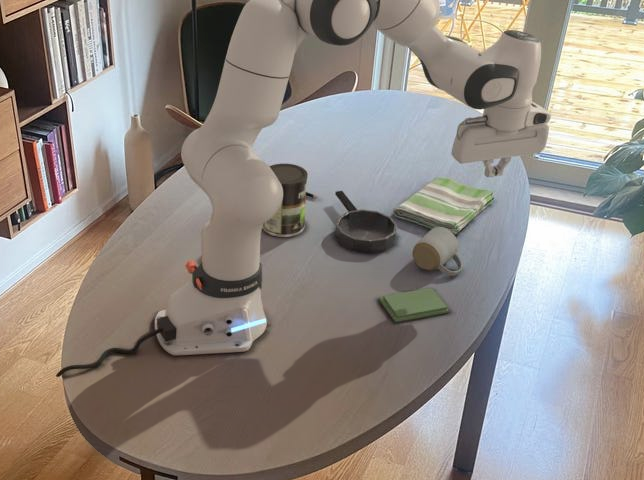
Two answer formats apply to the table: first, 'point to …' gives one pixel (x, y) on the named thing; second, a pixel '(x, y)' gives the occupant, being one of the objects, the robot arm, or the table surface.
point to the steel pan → (364, 229)
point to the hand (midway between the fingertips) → (493, 175)
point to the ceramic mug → (437, 251)
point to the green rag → (413, 305)
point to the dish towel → (444, 205)
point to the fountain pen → (310, 195)
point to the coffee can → (289, 201)
